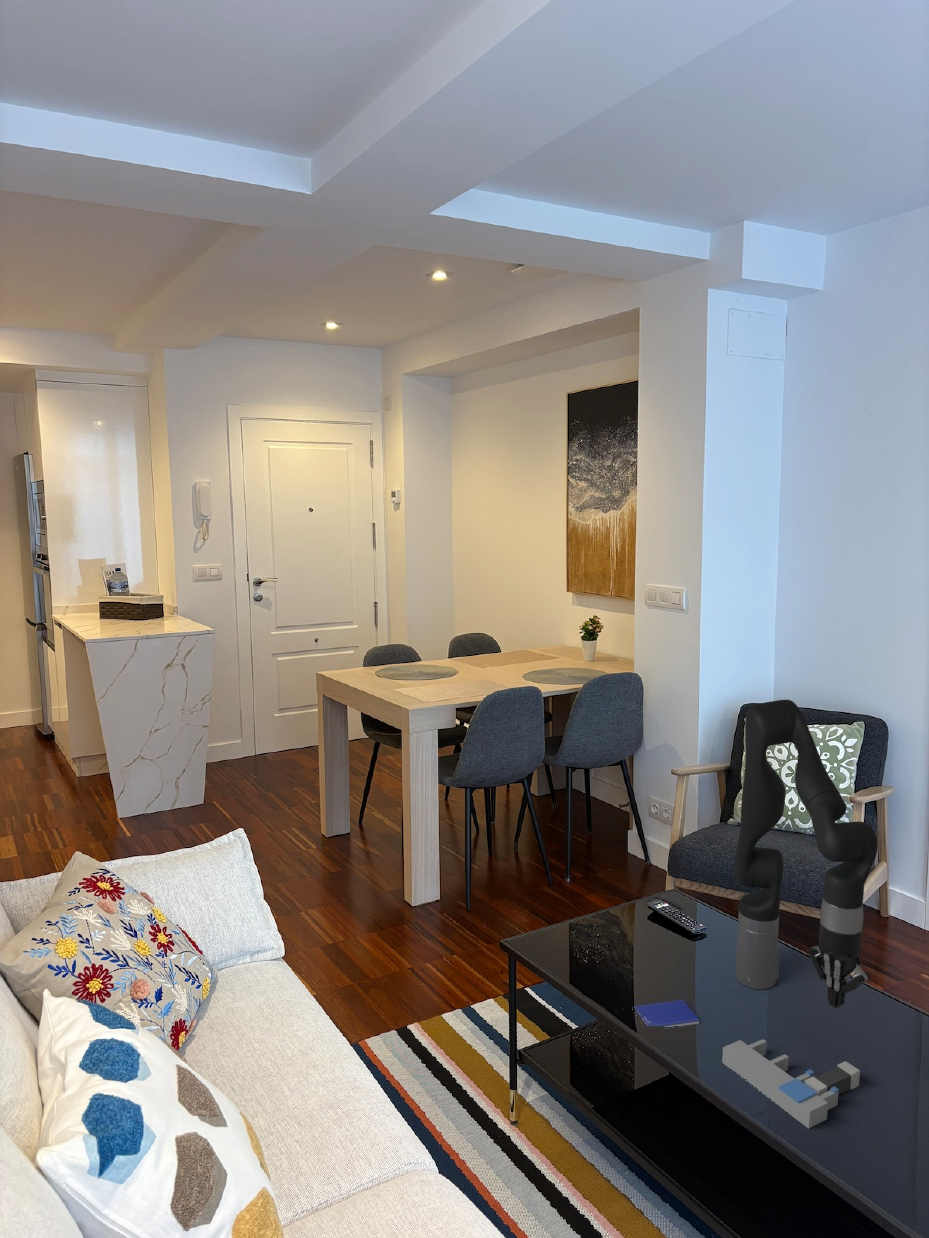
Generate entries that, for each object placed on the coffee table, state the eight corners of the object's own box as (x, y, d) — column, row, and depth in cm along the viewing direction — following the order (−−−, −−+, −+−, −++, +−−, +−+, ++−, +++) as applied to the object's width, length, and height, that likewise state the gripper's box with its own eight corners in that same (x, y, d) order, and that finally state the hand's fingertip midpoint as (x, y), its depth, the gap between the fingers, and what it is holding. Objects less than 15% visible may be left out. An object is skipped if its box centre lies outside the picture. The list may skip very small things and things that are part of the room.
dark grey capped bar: (844, 1076, 183) (845, 1060, 183) (858, 1085, 180) (860, 1070, 180) (803, 1095, 177) (804, 1080, 177) (818, 1106, 175) (819, 1090, 174)
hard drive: (647, 1026, 198) (699, 1019, 201) (632, 1005, 206) (682, 998, 209) (647, 1033, 198) (699, 1025, 201) (632, 1011, 206) (682, 1004, 209)
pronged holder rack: (756, 1047, 192) (757, 1030, 192) (844, 1109, 173) (846, 1091, 173) (722, 1062, 187) (722, 1045, 187) (808, 1128, 169) (809, 1109, 168)
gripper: (884, 932, 169) (878, 1016, 172) (825, 903, 180) (820, 982, 183) (858, 943, 165) (852, 1029, 168) (799, 912, 176) (794, 993, 179)
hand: (835, 1004), depth 175 cm, fingers closed
